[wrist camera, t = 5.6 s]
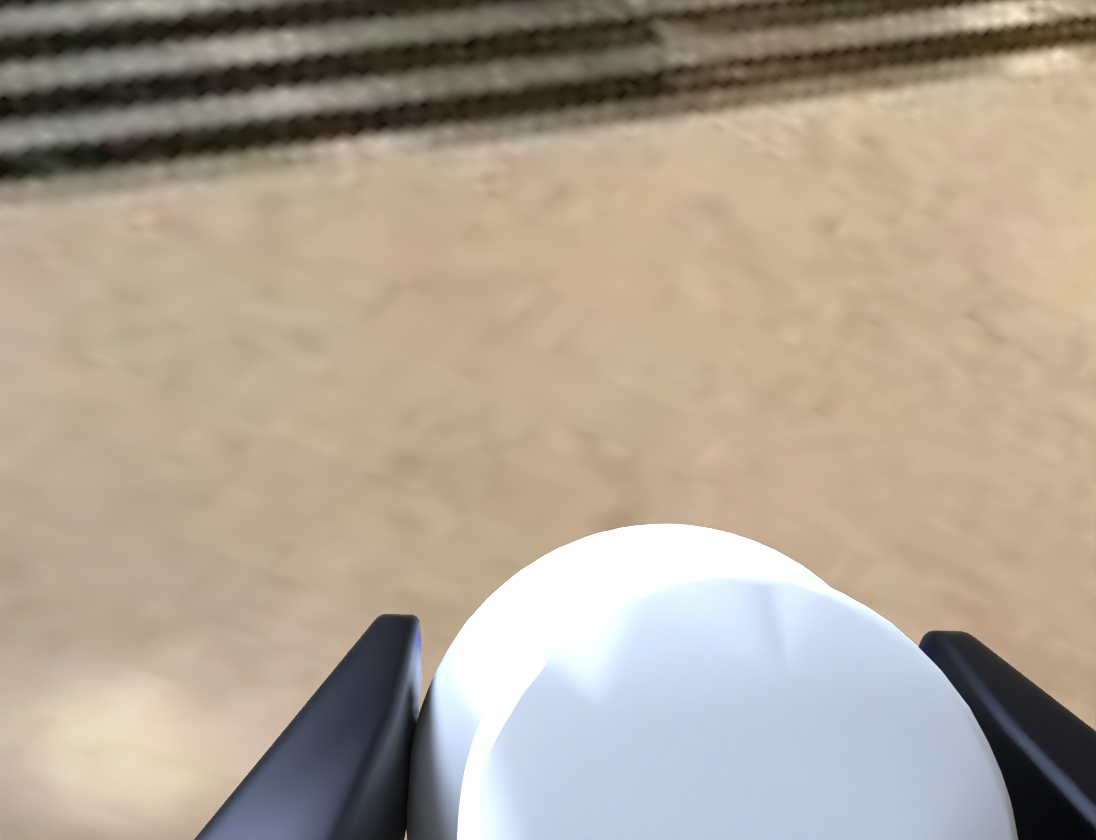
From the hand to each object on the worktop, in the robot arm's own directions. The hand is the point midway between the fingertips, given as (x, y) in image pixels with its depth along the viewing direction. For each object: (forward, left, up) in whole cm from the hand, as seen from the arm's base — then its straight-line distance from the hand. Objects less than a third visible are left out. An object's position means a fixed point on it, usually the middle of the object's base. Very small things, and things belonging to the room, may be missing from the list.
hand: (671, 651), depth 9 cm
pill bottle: (-1, +1, -7) cm, 7 cm away
